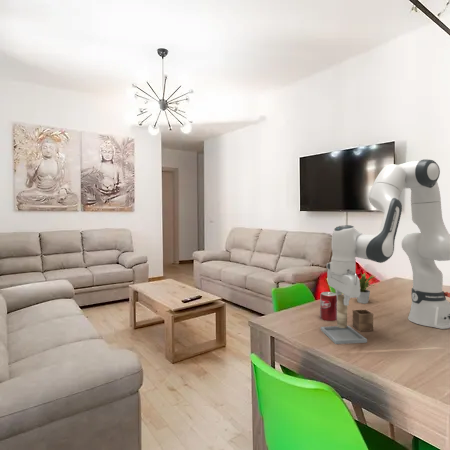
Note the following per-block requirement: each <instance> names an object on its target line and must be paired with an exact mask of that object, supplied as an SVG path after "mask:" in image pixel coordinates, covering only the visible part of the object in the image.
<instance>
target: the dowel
mask: <svg viewBox="0 0 450 450" xmlns="http://www.w3.org/2000/svg"><path fill="white" fill-rule="evenodd" d="M343 300H344V294H342V295H338V301H337V320H336V326H337V327H339V328H347V326H348V305H346V306H345V305H344V304H343Z"/></svg>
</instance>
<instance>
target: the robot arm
mask: <svg viewBox="0 0 450 450" xmlns="http://www.w3.org/2000/svg"><path fill="white" fill-rule="evenodd" d="M440 173H441V169H440V166H439V165H438V163H437V162H436V161H435V160H432V159H428V158H427V159H420V160H411V161H407V162H404V163H400V164H397V163H396V164H394V163H392V164H391V163H389V164H387V165H385V166H384V167H382V169H381V170H380V172H379V174H377V176H376V178H375V180H374V182H373V184H372V185H371V187H370V190H369V192H368V201H369V204H371V206H372V207H374V209H376V210H378V211H380V212H382V213H383V217H382V221H381V225H380V228H379V232H377V233H375V234H370V233H363V232H361V231H360V230H359V231H358V230H357V229H356V227H355V226H354V225H352V224H351V225H349V224H348V225H347V224H346V225H339V226H336V227H335V228H334V229H333V230H332V231H333V232H332V233H331V234H332V235H331V253H332V256H331V259H330V261H329V262H327V263H326V269H327V272H326V273H327V284H328V286H329V287H331V288H333V289H334V290H335V292H334V293H336V295H337V302H338V295H344V300H343V304H344V305H345V306H346V305H347V306H350V303H349V302H350V300H351V299H352V298H353V299H354V298H355V299H357V298H358V297H359V296H360V289H361V288H360V281H359V280H360V278H359V277H358V275H357V273H356V270H357V269H356V263H357V262H356V261H357V260H356V258H358V259H364V260H368V261H372V262H376V263H378V264H379V263H380V264H382V263H385V262H387V261H388V260H389V259H390V258H392V256H393V254H394V252H395V239H396V237H397V232H398V228H399V225H400V220H401V216H402V212H403V211H402V210H403V204H402V202H401V200H400V196H401V195H402V191H403V189H409V190H410V207H411V209H410V210H411V220H412V223H414V224H415V225H416V226H417V228H418V230H419V232H413V233H409V234H406V235H404V237H403V238H402V239H401V248H402V250H403V252H404V253H405V254H406V255H407V258H408V260H409V262H410V265H411V270H412V288H411V292H410V293H411V306H410V311H409V314H408V317H407V320H408V321H410V322H412V323H414V324H416V325H420V326H425V327H431V328H437V329H441V330H446V329H450V301H448V300H447V298H450V292H448V291H444V290H443V282H444V281H443V277H444V276H443V273H442V271H441V269H439V267H438V266H437V264H436V262H435V261H437V262H438V261H439V262H443V261H444V262H445V261H450V233H449V231H448V229H447V228H446V224H445V223H444V220H443V211H442V210H443V209H442V201H441V200H442V199H441V192H440V187H439V184H438V180H439V178H440Z"/></svg>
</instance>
